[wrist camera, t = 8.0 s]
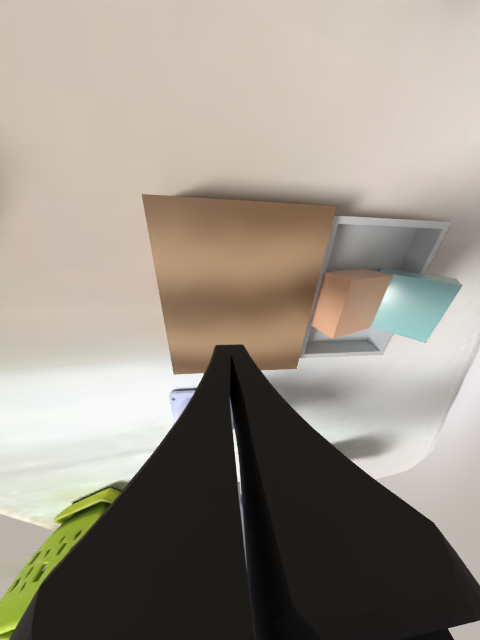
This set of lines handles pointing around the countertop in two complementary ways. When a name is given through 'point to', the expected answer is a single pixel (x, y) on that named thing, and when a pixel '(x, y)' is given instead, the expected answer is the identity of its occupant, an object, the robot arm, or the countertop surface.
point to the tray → (373, 254)
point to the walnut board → (236, 275)
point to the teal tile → (414, 303)
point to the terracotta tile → (349, 301)
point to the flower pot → (51, 556)
